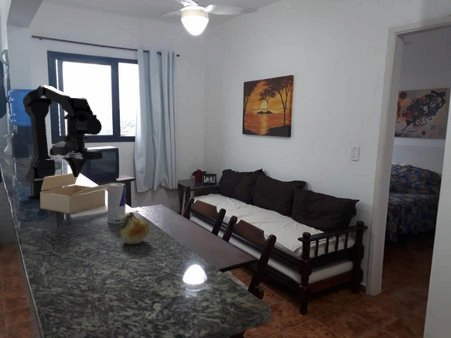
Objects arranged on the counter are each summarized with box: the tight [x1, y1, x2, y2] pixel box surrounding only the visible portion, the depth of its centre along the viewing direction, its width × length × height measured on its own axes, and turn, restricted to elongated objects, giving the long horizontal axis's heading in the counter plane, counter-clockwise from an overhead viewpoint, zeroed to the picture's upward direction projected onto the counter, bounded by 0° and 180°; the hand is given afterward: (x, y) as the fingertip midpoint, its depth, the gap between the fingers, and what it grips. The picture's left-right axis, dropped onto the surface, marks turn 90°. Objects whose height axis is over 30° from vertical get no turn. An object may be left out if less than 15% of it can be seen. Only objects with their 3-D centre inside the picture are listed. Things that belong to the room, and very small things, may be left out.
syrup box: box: [48, 153, 64, 176], centre depth 155 cm, size 6×6×14 cm
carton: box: [39, 184, 106, 215], centre depth 119 cm, size 14×17×6 cm
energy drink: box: [107, 182, 127, 225], centre depth 104 cm, size 5×5×12 cm
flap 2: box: [73, 182, 111, 196], centre depth 116 cm, size 5×15×1 cm, turn 160°
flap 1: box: [41, 172, 78, 190], centre depth 121 cm, size 5×15×1 cm
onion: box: [118, 211, 151, 245], centre depth 87 cm, size 8×8×8 cm
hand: (76, 177), depth 118 cm, fingers closed
